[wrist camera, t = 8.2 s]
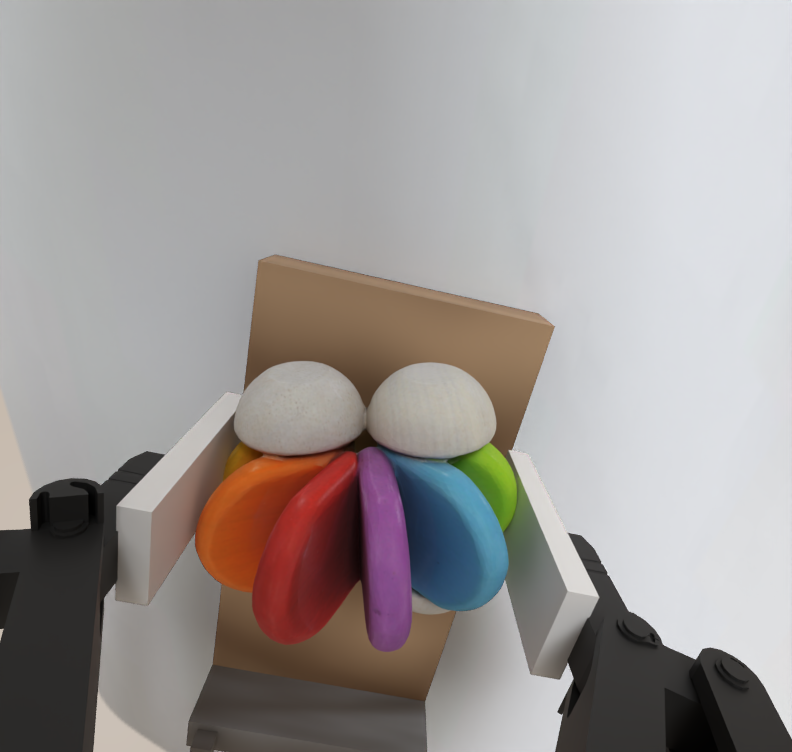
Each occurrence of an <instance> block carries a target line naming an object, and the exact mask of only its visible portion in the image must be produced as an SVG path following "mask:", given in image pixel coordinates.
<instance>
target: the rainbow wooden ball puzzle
mask: <svg viewBox="0 0 792 752" xmlns="http://www.w3.org/2000/svg"><path fill="white" fill-rule="evenodd" d="M496 424H497V423H496V416H495V412H494V408H493V405H492V402H491V400H490V398H489V396H488V394H487V393H486V391H485V390H484V388H483V387H482V386H481V385H480V383H479V382H477V381H476V380H475V379H474V378H473V377H472V376H471V375H469V374H468V373H466V372H465V371H463V370H462V369H459V368H457V367H455V366H451V365H448V364H443V363H433V362H428V363H417V364H412V365H409V366H406V367H404V368H402V369H400V370H398V371H396V372H395V373H393V374H392V375H390V376H389V377H388V378H387V379H386V380H385V381H384V382H383V383H382V384H381V385H380V386H379V388H378V389H377V390H376V392H375V393H374V395H373V397H372V399H371V402H370V404H369V406H368V407H367V408H366V407H365V405H364V404H363V402H362V399H361V397H360V395H359V393H358V391H357V389H356V388H355V387H354V385H353V384H352V383H351V381H350V380H349V379H348V378H347V377H345V376H344V375H343V374H342V373H340V372H339V371H337V370H336V369H334V368H332V367H330V366H328V365H325V364H323V363H318V362H313V361H293V362H287V363H282V364H279V365H276V366H273V367H271V368H269V369H267V370H266V371H264V372H263V373H262V374H260V375H259V376H258V377H257V378H255V379H254V380H253V381H252V382H251V384H250V385H249V386H248V387H247V388H246V390H245V391H244V393H243V395H242V397H241V398H240V400H239V403H238V406H237V408H236V413H235V419H234V431H235V433H236V435H237V437H238V438H239V439H240V440H241V442H240V443H239V444H238V445H237V446H236V447H235V448H234V450H233V451H232V452H231V454H230V456H229V457H228V460H227V462H226V465H225V469H224V474H223V482H222V483H221V484H220V485H219V486H218V487H217V489H216V490H215V491H214V492H213V493H212V495H211V496H210V498H209V500H208V501H207V503H206V505H205V507H204V509H203V510H202V513H201V515H200V517H199V521H198V524H197V528H196V533H195V546H196V551H197V553H198V556H199V558H200V561H201V562H202V564H203V566H204V567H205V569H206V570H207V571H208V573H209V574H210V575H211V576H212V577H213V578H214V579H216V580H217V581H218V582H220V583H221V584H223V585H225V586H227V587H230V588H232V589H235V590H239V591H242V592H250V593H252V609H253V613H254V616H255V618H256V621H257V623H258V625H259V627H260V629H261V630H262V631H263V632H264V633H265V634H266V635H267V636H268V637H269V638H270V639H271V640H273V641H275V642H278V643H280V644H284V645H291V644H297V643H300V642H303V641H305V640H307V639H309V638H311V637H312V636H314V635H315V634H317V633H318V632H319V631H320V630H321V629H322V628H323V627H324V626H325V625H326V624H327V623H328V621H329V620H330V619H331V618H332V616H333V615H334V614H335V612H336V611H337V610H338V608H339V607H340V606H341V604H342V603H343V601H344V600H345V599H346V597H347V596H348V594H349V593H350V592H351V590H352V589H353V588H354V586H355V585H356V584H357V583H358V582H359V581H360V580H361V584H362V593H363V603H364V613H365V623H366V630H367V634H368V638H369V641H370V643H371V644H372V646H373V647H374V648H376V649H377V650H379V651H383V652H391V651H395V650H398V649H400V648H401V647H402V646H403V645H404V644H405V642H406V640H407V638H408V636H409V633H410V629H411V623H412V611H413V612H416V613H420V614H428V615H431V614H441V613H446V612H449V611H451V610H452V611H468V610H473V609H476V608H479V607H481V606H483V605H484V604H486V603H487V602H489V601H490V600H491V599H492V598H493V597H494V596H495V595H496V594H497V592H498V591H499V590H500V589H501V587H502V585H503V583H504V580H505V577H506V575H507V571H508V565H509V560H508V551H507V545H506V542H505V538H504V535H503V532H504V531H505V530H506V529H507V527H508V526H509V524H510V523H511V521H512V519H513V517H514V514H515V510H516V504H517V484H516V479H515V476H514V473H513V471H512V469H511V467H510V465H509V463H508V461H507V460H506V459H505V457H504V456H503V455H502V454H501V452H500V451H498V450H497V449H496V448H495V447H494V446H493V445H492V444H491V443H489V442H490V441H491V439H492V438H493V436H494V434H495V431H496ZM364 430H367V431H368V433H369V434H370V435H371V436H372V438H373V439H374V440H375V441H376V442H377V447H367V448H365V449H363V450H361V451H360V452H359V453H356V446H355V439H356V438H357V437H358V436H359V435H360V434H361V433H362V432H363V431H364Z"/></svg>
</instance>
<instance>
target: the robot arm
mask: <svg viewBox="0 0 792 752" xmlns="http://www.w3.org/2000/svg"><path fill="white" fill-rule="evenodd" d="M241 397H242V395H240V394H235V393H230V392H226V393H225V394H224V395H223V396H222V397H221V398H220V399H219V400H218V401H217V402H216V403H215V404H214V405H213V406H212V407H211V408H210V409H209V410H208V411H207V412H206V413H205V414H204V415H203V416H202V418H201V419H200V420H199V421H198V422H197V423H196V424H195V425H194V426H193V427H192V428H191V429H190V430H189V431H188V432H187V433H186V434H185V435H184V436H183V437H182V438H181V439H180V440H179V441H178V442H177V443H176V444H175V446H174V447H173V448H172V449H171V450H170V451H169V452H168V453H167V454H166V455H163V454H158V453H153V452H148V451H146V452H144V453H142V454H140V455H138V456H135V457H133V458H131V459H129V460H128V461H127V462H126V463H125V464H124V465H123V466H122V467H121V468H119V469H118V472H115V473H114V474H113V475H112V476H111V477H110V478H109V480H106V481H105V482H104V483H103V484H102V485H99V484H98V483H97V482H95V481H91V480H88V479H76V478H71V479H65V480H59V481H55V482H52V483H50V484H47V485H44V486H43V487H41V488H40V489H38V490H37V491H35V492H34V493H33V495H32V496H31V497H30V499H29V506H30V521H31V529H23V530H0V629H4V630H3V634H2V637H1V641H0V752H93V745H94V733H95V719H96V707H97V694H98V681H99V668H100V655H101V642H102V629H103V616H104V597H105V596H106V594H107V593H108V592H109V591H110V589H111V588H112V587H113V585H114V584H115V583H116V595H115V600H116V601H122V602H127V603H133V604H139V605H144V606H148V605H149V603H150V602H151V600H152V599H153V597H154V596H155V594H156V592H157V591H158V589H159V588H160V586H161V585H162V583H163V582H164V580H165V579H166V577H167V575H168V574H169V572H170V571H171V569H172V568H173V566H174V565H175V563H176V561H177V560H178V558H179V557H180V555H181V554H182V552H183V551H184V549H185V547H186V546H187V544H188V543H189V541H190V540H191V538H192V537H193V535H194V533H195V532H196V528H197V524H198V521H199V517H200V515H201V513H202V510H203V509H204V507H205V505H206V503H207V501H208V500H209V498H210V496H211V495H212V493H213V492H214V491H215V490H216V489H217V487H218V486H219V485H220V484H221V483H222V482H223V474H224V469H225V465H226V462H227V460H228V457H229V456H230V454H231V452H232V451H233V450H234V448H235V447H236V446H237V445H238V444H239V443H240V442H241V440H240V439H239V438H238V437H237V435H236V433H235V431H234V419H235V413H236V408H237V406H238V403H239V400H240V398H241ZM505 459H506V460H507V461H508V463H509V465H510V467H511V469H512V471H513V473H514V476H515V479H516V484H517V504H516V510H515V514H514V517H513V519H512V521H511V523H510V524H509V526H508V527H507V529H506V530H505V531H504V532H503V535H504V538H505V542H506V545H507V551H508V560H509V565H508V571H507V575H506V577H505V580H506V584H507V588H508V592H509V595H510V599H511V603H512V607H513V610H514V614H515V618H516V622H517V625H518V629H519V633H520V637H521V640H522V644H523V648H524V652H525V655H526V659H527V663H528V667H529V670H530V674H531V675H537V676H542V677H548V678H553V679H559V680H560V678H561V676H562V674H563V672H564V670H565V668H566V666H567V663H568V664H569V667H570V669H571V672H572V675H573V678H574V679H573V681H572V683H571V685H570V687H569V689H568V691H567V693H566V695H565V697H564V699H563V701H562V703H561V705H560V707H559V710H558V713H559V714H561V715H562V714H563V716H562V721H561V726H560V731H559V736H558V741H557V746H556V751H555V752H792V739H791V737H790V735H789V733H788V731H787V729H786V727H785V726H784V724H783V722H782V720H781V718H780V716H779V714H778V712H777V710H776V708H775V707H774V705H773V703H772V701H771V699H770V697H769V695H768V693H767V691H766V689H765V687H764V686H763V684H762V683H761V681H760V680H759V679H758V677H757V676H756V675H755V674H754V673H753V672H752V671H751V670H750V669H749V668H748V667H747V666H746V665H745V664H744V663H742V662H741V661H740V660H738V659H737V658H735V657H734V656H732V655H730V654H728V653H726V652H724V651H722V650H718V649H714V648H706V649H702V651H701V653H700V654H699V656H698V657H697V659H696V660H695V659H693V658H691V657H688V656H686V655H684V654H682V653H679V652H677V651H675V650H672V649H670V648H668V647H666V646H664V645H663V644H662V641H661V638H660V637H659V635H658V634H657V632H656V631H655V629H653V628H652V627H651V626H650V625H649V624H648V623H647V622H646V621H645V620H643V619H642V618H640V617H639V616H637V615H636V614H634V613H631V612H629V611H628V610H627V608H626V606H625V604H624V602H623V601H622V599H621V597H620V595H619V593H618V591H617V590H616V588H615V586H614V584H613V582H612V581H611V579H610V577H609V576H608V575H607V571H606V570H605V568H604V566H603V565H602V564H601V561H600V559H599V557H598V555H597V553H596V551H595V550H594V548H593V547H592V546H591V545H590V544H589V543H588V542H587V541H586V540H585V539H584V538H583V537H582V536H580V535H575V534H570V533H567V531H566V529H565V527H564V525H563V523H562V521H561V519H560V517H559V515H558V513H557V511H556V509H555V507H554V505H553V503H552V501H551V499H550V496H549V494H548V492H547V490H546V488H545V486H544V484H543V482H542V480H541V478H540V476H539V474H538V472H537V470H536V468H535V466H534V464H533V462H532V460H531V458H530V456H529V454H526V453H522V452H517V451H512V450H508V452H507V455H506V458H505Z"/></svg>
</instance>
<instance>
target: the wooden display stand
mask: <svg viewBox="0 0 792 752" xmlns="http://www.w3.org/2000/svg"><path fill="white" fill-rule="evenodd" d="M554 327H555V326H553V325H552V324H551V323H550V322H548V321H547V320H546V319H545V318H543V317H542V316H541V315H540V314H538V313H533V312H529V311H524V310H520V309H515V308H511V307H506V306H502V305H498V304H493V303H489V302H484V301H480V300H475V299H471V298H466V297H462V296H457V295H453V294H448V293H444V292H439V291H435V290H431V289H426V288H422V287H417V286H413V285H408V284H404V283H399V282H395V281H390V280H386V279H381V278H377V277H373V276H368V275H364V274H359V273H355V272H350V271H346V270H341V269H337V268H332V267H328V266H323V265H319V264H314V263H310V262H306V261H301V260H297V259H292V258H288V257H283V256H279V255H273V256H270V257H267V258H264V259H261V260H259V261H258V270H257V279H256V288H255V296H254V305H253V314H252V323H251V332H250V340H249V349H248V358H247V367H246V375H245V384H244V391H245V390H246V388H247V387H248V386H249V385H250V384H251V382H252V381H253V380H254V379H255V378H257V377H258V376H259V375H260V374H262V373H263V372H264V371H266V370H267V369H269V368H271V367H273V366H276V365H279V364H282V363H287V362H293V361H313V362H318V363H323V364H325V365H328V366H330V367H332V368H334V369H336V370H337V371H339V372H340V373H342V374H343V375H344V376H345V377H347V378H348V379H349V380H350V381H351V383H352V384H353V385H354V387H355V388H356V389H357V391H358V393H359V395H360V397H361V399H362V402H363V404H364V405H365V407H366V408H367V407H368V406H369V404H370V402H371V399H372V397H373V395H374V393H375V392H376V390H377V389H378V388H379V386H380V385H381V384H382V383H383V382H384V381H385V380H386V379H387V378H388V377H389V376H390V375H392V374H393V373H395V372H396V371H398V370H400V369H402V368H404V367H406V366H409V365H412V364H417V363H428V362H433V363H443V364H448V365H451V366H455V367H457V368H459V369H462V370H463V371H465V372H466V373H468V374H469V375H471V376H472V377H473V378H474V379H475V380H476V381H477V382H479V383H480V385H481V386H482V387H483V388H484V390H485V391H486V393H487V394H488V396H489V398H490V400H491V402H492V405H493V408H494V412H495V416H496V423H497V424H496V431H495V434H494V436H493V438H492V439H491V441H490V442H489V443H491V444H492V445H493V446H494V447H495V448H496V449H497V450H498V451H500V452H501V454H502V455H503V456H504V457H505V458H506V455H507V452H508V450H512V448H513V446H514V443H515V440H516V437H517V434H518V431H519V428H520V425H521V422H522V419H523V417H524V414H525V411H526V408H527V405H528V402H529V399H530V396H531V393H532V391H533V388H534V385H535V382H536V379H537V376H538V373H539V370H540V367H541V365H542V362H543V359H544V356H545V353H546V350H547V347H548V344H549V341H550V339H551V336H552V333H553V330H554ZM355 446H356V453H359V452H360V451H361V450H363V449H365V448H367V447H377V442H376V441H375V440H374V439H373V438H372V436H371V435H370V434H369V433H368V431H367V430H364V431H363V432H362V433H361V434H360V435H359V436H358V437H357V438H356V439H355ZM455 613H456V611H452V610H451V611H449V612H446V613H441V614H431V615H428V614H420V613H416V612H413V611H412V623H411V629H410V633H409V636H408V638H407V640H406V642H405V644H404V645H403V646H402V647H401V648H400V649H398V650H395V651H391V652H383V651H379V650H377V649H376V648H374V647H373V646H372V644H371V643H370V641H369V638H368V634H367V630H366V623H365V613H364V603H363V593H362V584H361V580H360V581H359V582H358V583H357V584H356V585H355V586H354V588H353V589H352V590H351V592H350V593H349V594H348V596H347V597H346V599H345V600H344V601H343V603H342V604H341V606H340V607H339V608H338V610H337V611H336V612H335V614H334V615H333V616H332V618H331V619H330V620H329V621H328V623H327V624H326V625H325V626H324V627H323V628H322V629H321V630H320V631H319V632H318V633H317V634H315V635H314V636H312V637H311V638H309V639H307V640H305V641H303V642H300V643H297V644H291V645H284V644H280V643H278V642H275V641H273V640H271V639H270V638H269V637H268V636H267V635H266V634H265V633H264V632H263V631H262V630H261V629H260V627H259V625H258V623H257V621H256V618H255V616H254V613H253V609H252V593H250V592H242V591H239V590H235V589H232V588H230V587H227V586H225V585H223V584H222V587H221V595H220V604H219V613H218V622H217V631H216V639H215V648H214V657H213V665H212V667H211V670H210V672H209V674H208V677H207V679H206V682H205V684H204V686H203V689H202V691H201V693H200V696H199V698H198V701H197V703H196V705H195V708H194V710H193V712H192V715H191V717H190V720H189V723H188V734H187V744H186V745H187V746H191V747H190V752H213V751H214V750H218V751H224V752H427V738H426V713H425V700H426V697H427V694H428V691H429V688H430V686H431V683H432V680H433V677H434V674H435V671H436V668H437V665H438V662H439V660H440V657H441V654H442V651H443V648H444V645H445V642H446V639H447V636H448V633H449V631H450V628H451V625H452V622H453V619H454V616H455Z"/></svg>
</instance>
